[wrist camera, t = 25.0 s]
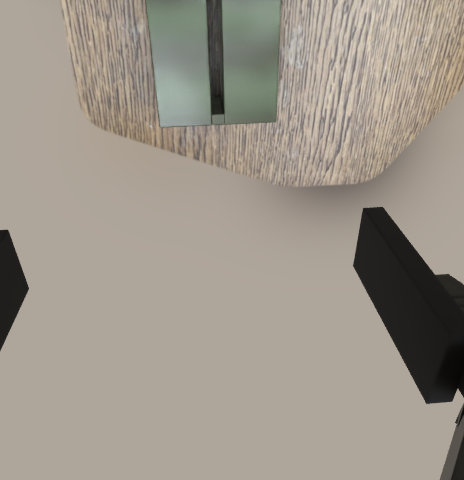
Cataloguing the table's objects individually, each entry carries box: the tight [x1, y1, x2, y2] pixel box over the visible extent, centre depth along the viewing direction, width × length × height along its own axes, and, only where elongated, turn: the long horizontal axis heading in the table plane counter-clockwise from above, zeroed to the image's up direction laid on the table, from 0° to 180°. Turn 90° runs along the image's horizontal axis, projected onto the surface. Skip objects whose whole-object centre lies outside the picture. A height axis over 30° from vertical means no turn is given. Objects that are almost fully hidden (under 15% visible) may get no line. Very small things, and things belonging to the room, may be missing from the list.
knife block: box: [145, 0, 281, 127], centre depth 39 cm, size 12×11×6 cm
